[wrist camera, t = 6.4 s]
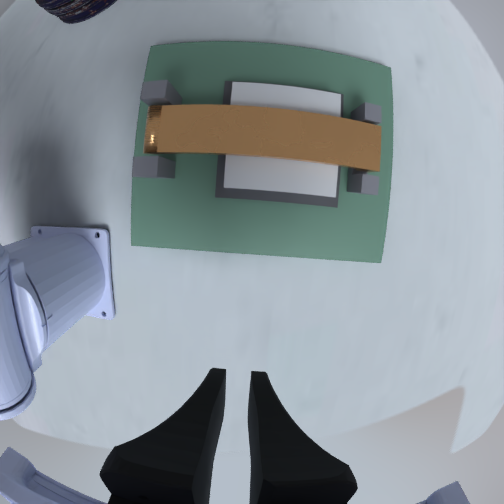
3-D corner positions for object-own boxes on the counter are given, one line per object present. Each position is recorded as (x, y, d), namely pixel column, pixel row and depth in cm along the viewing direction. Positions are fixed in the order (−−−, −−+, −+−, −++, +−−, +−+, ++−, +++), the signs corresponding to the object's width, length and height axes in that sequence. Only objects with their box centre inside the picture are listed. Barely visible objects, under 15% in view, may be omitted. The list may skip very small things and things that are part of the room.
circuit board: (137, 242, 21) (107, 257, 16) (155, 51, 17) (133, 24, 12) (374, 259, 21) (404, 278, 16) (384, 72, 17) (413, 50, 13)
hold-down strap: (150, 155, 17) (139, 152, 15) (154, 112, 16) (145, 105, 14) (369, 172, 17) (381, 171, 15) (371, 130, 16) (382, 125, 15)
